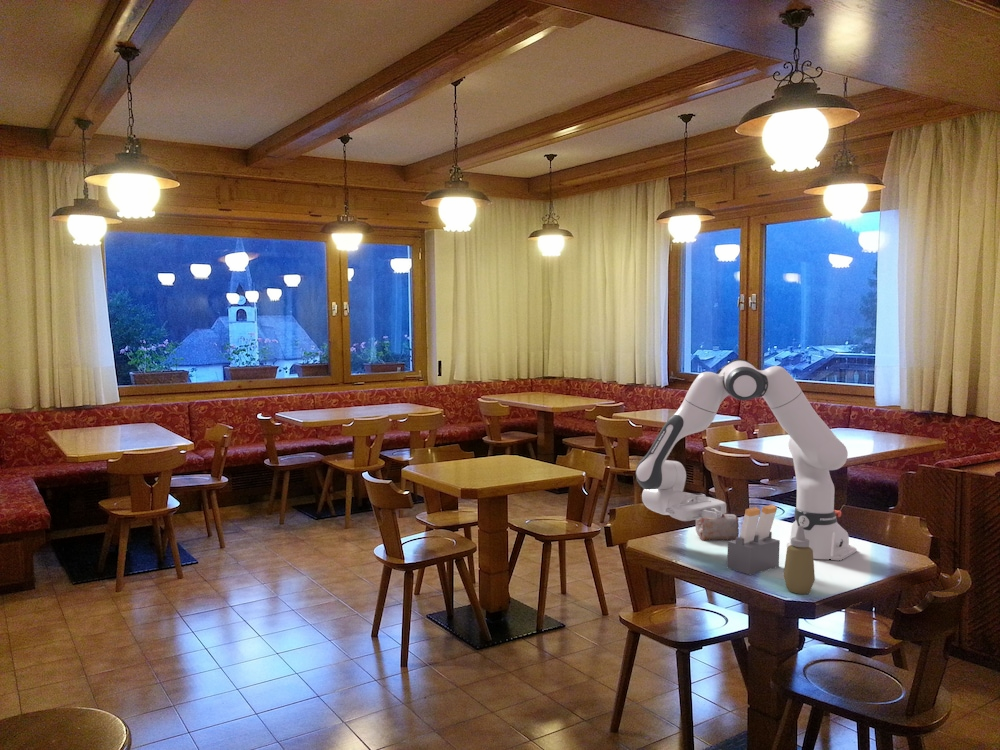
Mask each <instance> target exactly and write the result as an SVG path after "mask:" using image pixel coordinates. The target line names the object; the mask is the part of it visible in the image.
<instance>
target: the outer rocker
mask: <svg viewBox="0 0 1000 750" xmlns="http://www.w3.org/2000/svg"><path fill="white" fill-rule="evenodd" d="M761 511H762V508H759V507H757V506H754V507H750V508H745V511H744V512H745V513H744V516H743V519H742V520H743V521H742V525H741V529H740V532H739V533H740V534H739V537H740V538H744V543H745V542H749V541H753V540H754V537H755V532H756V528H757V525H758V522H759V518H760V515H761Z"/></svg>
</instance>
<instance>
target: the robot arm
mask: <svg viewBox="0 0 1000 750" xmlns="http://www.w3.org/2000/svg"><path fill="white" fill-rule="evenodd" d="M728 396H731V398H734V399H736V400H738V401H742V402H743V401H751V400H754V399H758V398H763V400H764V401H765V402H766V405H767V407H768V408H769V409H770V410H771V412H772V414H773V416H774V417H775V418H776V420H777V422H778V423H779V426H780V427H781V428H782V429H783V431H785V432H786V433H787V434H788V436H789V437H790V438H789V441H788V449H789V452H790V454H791V457H792V462H793V468H794V474H795V477H796V478H795V479H796V480H795V481H796V505H795V506H796V507H794V519H795V521H793V522H792V523H791V529H790V537H789V542H787V543H786V547H788V546H790V545H791V539H792V538H794V537H796V533H797V530H798V526H803V529H804V534H805V538H806V539H808V540H809V547H810V548H811V549H812V550H813V560H829V559H831V560H832V561H839V560H840V561H843V560H845V559H846V558H848V557H849V556H851V555H853V554H855V553H857V548H856V547H855V546H853V545H851V544H849V543H850V541H849V539H850V538H849V537H850V536H849V533H848V532H847V530H846V529H844V527H842V526H841V525H840V524H839V523H838V520H837V518H841V516H842V511H841V510H836V509H835V485H834V483H833V480H832V478H831V474H830V473H831V472H830V471H836V470H839V469H841V468H842V467H843V466H844V465H845V464H846V462H847V459H848V457H849V456H848V450H847V449H848V448H847V447H846V446H845V445H844V443H843V442H842V441H841V440H840V439H839V438H838V437H837V436H836V435H835V434H834V432H833V430H831V428H830V427H829V426H828V425H827V423H826V422H825V421H824V420H823V419H822V418H821V417H820V416H819V414H818V413H817V412H816V411H815V409H814V408H813V406H812V404H811V403H810V401H809V399H808V398H807V396H806V395H805V394H804V392H803V391H802V389H801V387H800V386H799V384H798V383H797V381H796V380H795V378H794V377H793V376H792V375H791V374H790V373H789V372H788V371H787V370H786V368H784V367H783V366H780V365H774V366H773V365H772V366H770V367H767V368H765V369H761V370H760V369H757V368H756V367H755V365H753V364H752V363H751V362H750V361H748V360H746V359H742V358H741V359H740V358H737V359H733V360H731V361H729V362H727V363H726V364H725V365H724V366H722V367H721V368H719V369H718V370H717V371H716V372H713V371H704V372H700V373H699V374H698V375H697V376H696V378H695V379H694V380H693V382H692V383H691V385H690V387H689V389H688V390H687V392H686V394H685V397H684V398H683V401H682V402H681V404H680V406H679V407H678V409H676V412H674V413H673V415H671V416H670V417H669V418H668V419H667V420H666V421H665V423H664V425H663V426H662V428H661V430H660V432H659V433H658V434H657V436H656V438H655V440H654V441H653V443H652V445H651V447H650V448H649V450H648V451H647V453H646V454H645V455H644V456H643V457H642V458H641V460H640V461H638V464H637V465H636V467H635V478H636V481H637V483H638V484H639V486H640V487H641V488H642V489H643V490H642V493H641V500H642V503H643V506H645V507H646V508H647V509H648V510H650V511H652V512H654V513H657V514H660V515H663V516H670V517H671V518H673V519H675V520H679V521H681V522H690V521H696V519H701V518H706V517H709V518H720V517H722V514H727V503H726V502H725V501H724V500H721V499H717V498H714V497H710V496H706V494H704V493H691V492H686V491H685V486H686V481H687V476H688V475H687V471H686V468H685V466H684V464H683V463H681V462H680V461H677V460H670V459H668V458H669V456H670V453H672V450H673V448H674V447H675V445H676V444H677V443H678V442H679V441H680V440H681V439H683V438H685V437H687V436H690V435H693V434H697V433H701V432H703V431H705V430H707V429H708V428H709V427H710V426H711V424H712V423H713V421H714V420H715V417H716V415H717V413H718V410H719V408H720V405H721V404H722V403H723V401H724V399H726V398H727V397H728ZM842 559H843V560H842ZM831 560H830V561H831Z"/></svg>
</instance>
